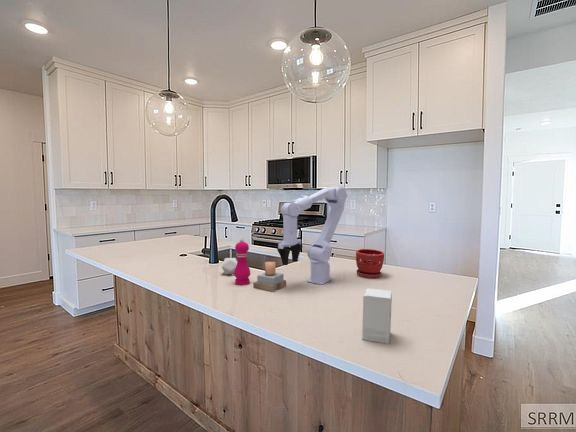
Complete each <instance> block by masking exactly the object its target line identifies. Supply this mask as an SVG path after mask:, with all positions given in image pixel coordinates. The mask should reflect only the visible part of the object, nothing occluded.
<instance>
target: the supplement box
mask: <svg viewBox="0 0 576 432" xmlns="http://www.w3.org/2000/svg"><path fill="white" fill-rule="evenodd" d="M392 292H393V291H392V290H389V289H388V290H387V289H378V288H366V289H365V290H364V294H363V296H362V300H363V301H362V332H361V333H362V335H361V337H362V340H365V341H370V342H376V343H382V344H390V337H391V328H392V326H391V325H392V301H393V298H392V297H393V294H392Z"/></svg>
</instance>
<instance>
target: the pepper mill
mask: <svg viewBox="0 0 576 432" xmlns="http://www.w3.org/2000/svg"><path fill="white" fill-rule="evenodd" d="M249 249H250V247H249V244H248V243H247V242H245V240H244V238H240V239H239V242H237V243H236V244H235V246H234V250H235V251H236V253H235V255H236V260H237V265H236V268H235V271H234V277H235V279H234V280H235V285H237V284H238V286H244V285H245V284H246V285H248V283H249V284H250V278H249V277H250V276H251V269H250V267H249V264H248V258H247V257H248V252H249ZM246 285H245V286H246Z"/></svg>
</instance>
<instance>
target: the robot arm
mask: <svg viewBox="0 0 576 432" xmlns="http://www.w3.org/2000/svg"><path fill="white" fill-rule="evenodd" d="M347 198H348V194H347V190H346V188H345V187H343V186H327V187H324V188H322V189H320V190H318V191H317V192H315V193H313V194H311V195H305V194H301V195H300V196H299V197H298V198H296V199H292V200H291V201H290V202H285V203H283V205H282V206H281V208H280V214H282V218H283V226H282V227H283V229H282V230H283V239H282V240H281V241H280V243H278V244H277V245H278V246H277V249H276V250H277V252H278V254H279V256H280V259H281V263H282V265H283V266H288V265H289V256H290V253H291V259H292V262H295V263H298V260H299V256H300V253H301V252H302V251H301V250H302V249H303V244H302V239H301V238H300V239H298V216H299V215H300V214H301V213H302V212H304V211H305V210H308V209H311V207H312V204H314V203H317V202H318V201H322V200H324V199H325V201H326V202H327V204H328V206H329V207H330V211H329V213H328V215H327V218H326V220H325V222H324V224H323V226H322V229H321V231H320V234H319V237H318V238H317V239H316V240H314V241H313V242H312V244H311V246H310V247H309V248H308V249H307V257H308V258H309V262H310V278H308V279H307V280H306V282H307V283H314V284H318V285H324V284H326V283H328V282H330V281H331V280H332V278H331V277H330V276H331V271H330V270H331V266H330V263H329V261H330V259H331V252H332V246H331V244H330V243H331V241H332V238H333V237H334V234H335V232H336V229H337V226H338V224H339V222H340V220H341V218H342V215H343V213H344V209H345V202H346V200H347ZM289 247H290V248H289Z"/></svg>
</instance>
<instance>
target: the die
mask: <svg viewBox="0 0 576 432" xmlns="http://www.w3.org/2000/svg"><path fill="white" fill-rule="evenodd" d="M237 260H238V259H237V257H225V258H224V260H223V261H222V262H223V263H222V265H221V268H222V271H223V273H224V275H225V276H233V275H232V274H234V271H235V268H236V265H237Z"/></svg>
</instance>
